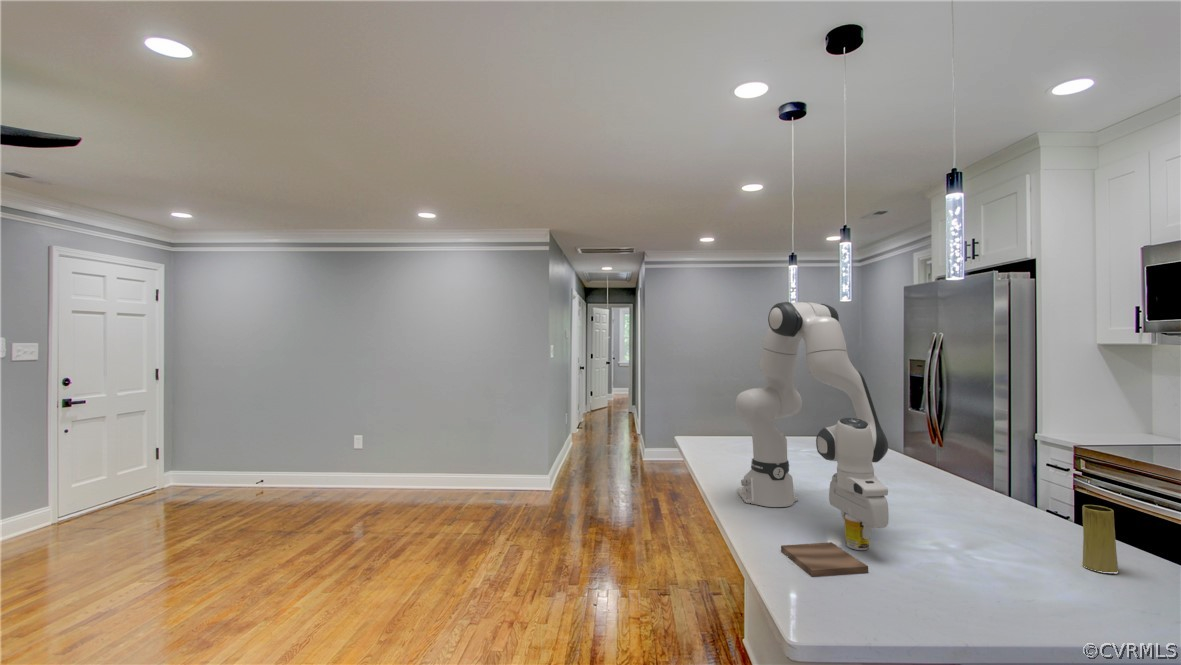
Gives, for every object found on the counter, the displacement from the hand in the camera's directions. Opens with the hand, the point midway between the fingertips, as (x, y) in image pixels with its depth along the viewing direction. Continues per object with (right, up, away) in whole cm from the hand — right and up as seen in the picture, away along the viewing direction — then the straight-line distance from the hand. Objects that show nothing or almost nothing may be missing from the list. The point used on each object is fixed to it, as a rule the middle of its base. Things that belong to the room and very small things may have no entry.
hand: (857, 533), depth 137 cm
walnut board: (-13, -4, -9) cm, 16 cm away
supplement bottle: (0, -4, 0) cm, 4 cm away
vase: (+49, -3, -15) cm, 52 cm away
